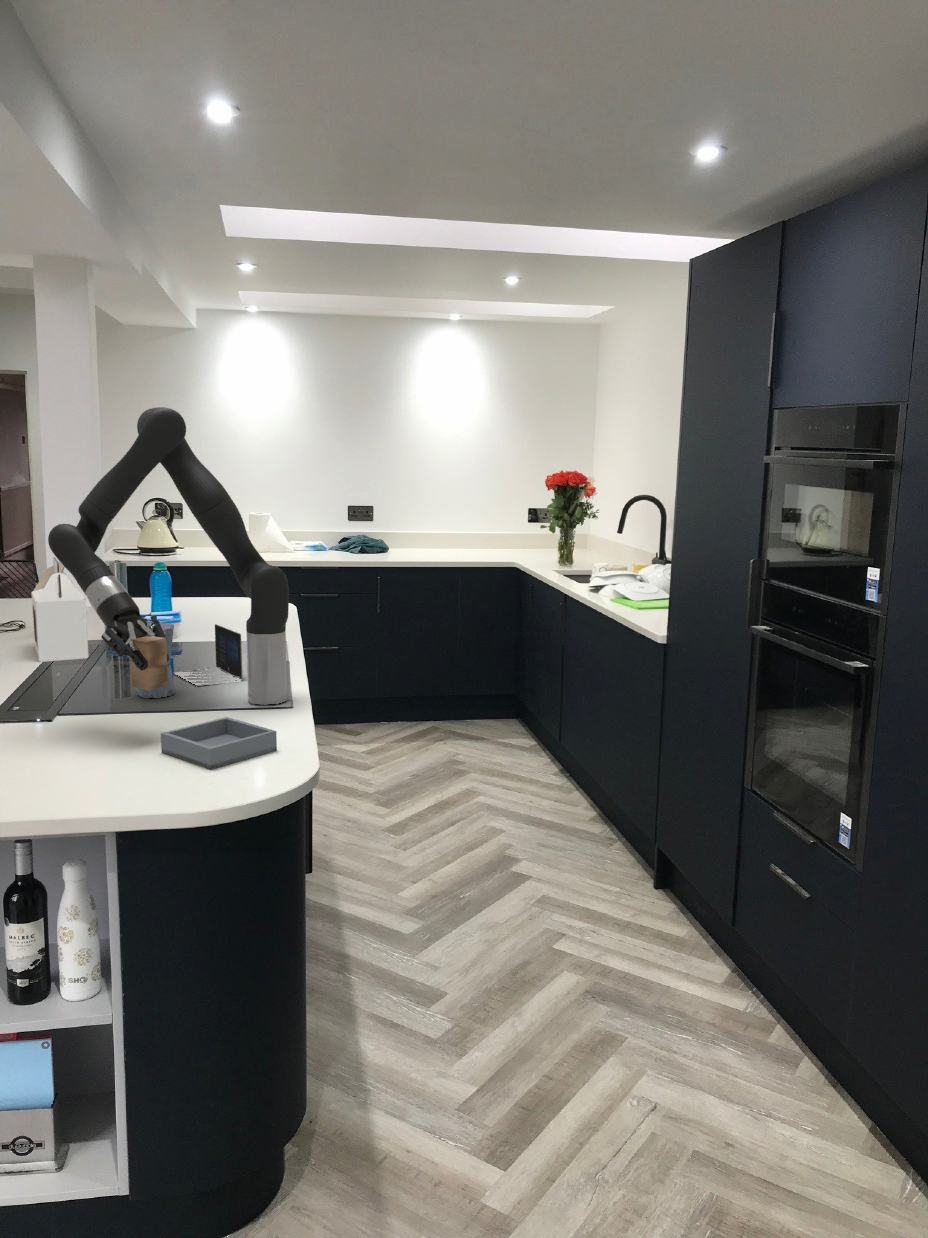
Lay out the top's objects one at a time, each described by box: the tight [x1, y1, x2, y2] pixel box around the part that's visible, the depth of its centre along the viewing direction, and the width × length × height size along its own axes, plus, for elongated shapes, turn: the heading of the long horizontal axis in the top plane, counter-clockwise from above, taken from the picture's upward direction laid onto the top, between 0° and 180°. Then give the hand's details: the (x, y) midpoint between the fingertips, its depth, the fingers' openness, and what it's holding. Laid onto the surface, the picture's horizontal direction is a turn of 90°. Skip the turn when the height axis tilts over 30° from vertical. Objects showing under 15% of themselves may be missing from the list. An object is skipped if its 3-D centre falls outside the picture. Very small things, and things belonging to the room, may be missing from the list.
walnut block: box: [130, 636, 168, 690], centre depth 195 cm, size 5×5×10 cm
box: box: [160, 716, 278, 770], centre depth 189 cm, size 16×16×4 cm
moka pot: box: [136, 615, 176, 699], centre depth 233 cm, size 10×15×20 cm, turn 40°
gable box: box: [30, 556, 89, 663], centre depth 279 cm, size 22×13×28 cm, turn 27°
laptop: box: [173, 623, 243, 686], centre depth 252 cm, size 18×12×13 cm
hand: (155, 665), depth 194 cm, fingers closed on walnut block, 5 cm apart
